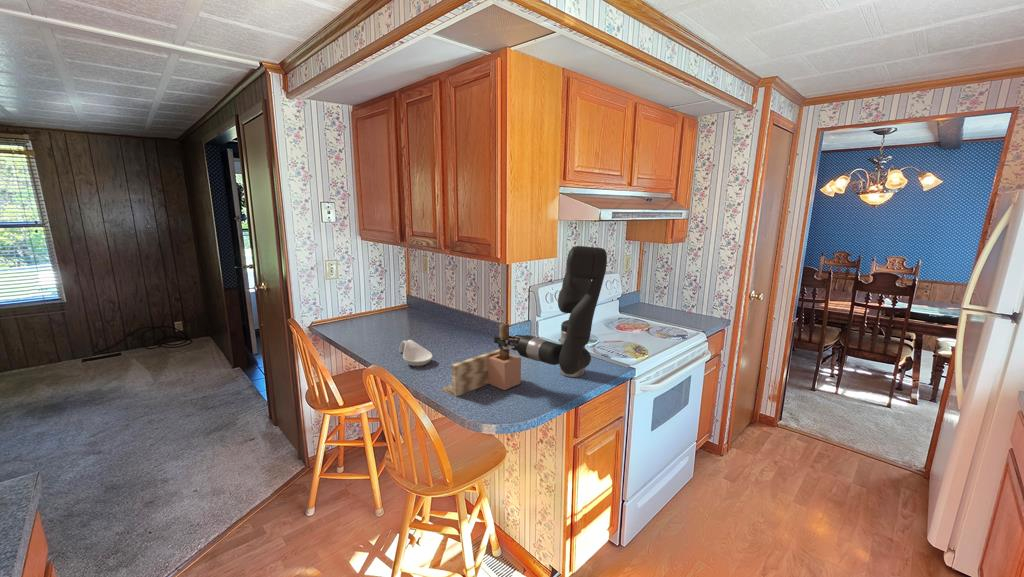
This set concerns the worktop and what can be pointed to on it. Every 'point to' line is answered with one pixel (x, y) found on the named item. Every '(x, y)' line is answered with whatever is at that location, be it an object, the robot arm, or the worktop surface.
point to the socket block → (504, 371)
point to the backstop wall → (469, 374)
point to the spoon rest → (414, 353)
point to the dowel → (504, 334)
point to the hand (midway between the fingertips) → (498, 338)
